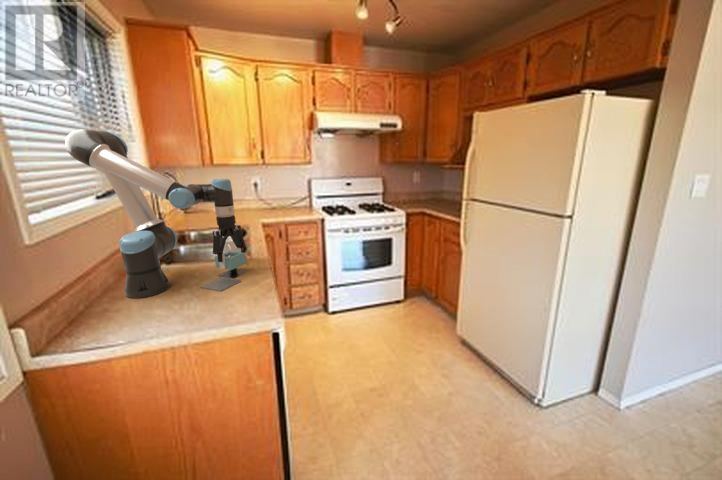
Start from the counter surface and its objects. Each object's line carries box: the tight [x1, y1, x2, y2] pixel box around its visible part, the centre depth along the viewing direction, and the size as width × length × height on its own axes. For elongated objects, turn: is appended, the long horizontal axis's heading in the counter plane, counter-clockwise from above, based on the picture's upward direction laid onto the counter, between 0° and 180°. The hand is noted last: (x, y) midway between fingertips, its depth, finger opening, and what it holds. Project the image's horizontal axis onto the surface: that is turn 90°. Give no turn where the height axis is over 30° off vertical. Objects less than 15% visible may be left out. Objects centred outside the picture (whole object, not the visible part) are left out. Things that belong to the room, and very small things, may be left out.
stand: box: [216, 254, 250, 279], centre depth 145 cm, size 10×10×9 cm
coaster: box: [200, 276, 242, 293], centre depth 133 cm, size 11×11×1 cm
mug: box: [223, 237, 237, 253], centre depth 158 cm, size 12×8×12 cm
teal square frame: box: [214, 251, 247, 271], centre depth 144 cm, size 9×9×5 cm
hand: (231, 264), depth 145 cm, fingers closed on teal square frame, 9 cm apart
